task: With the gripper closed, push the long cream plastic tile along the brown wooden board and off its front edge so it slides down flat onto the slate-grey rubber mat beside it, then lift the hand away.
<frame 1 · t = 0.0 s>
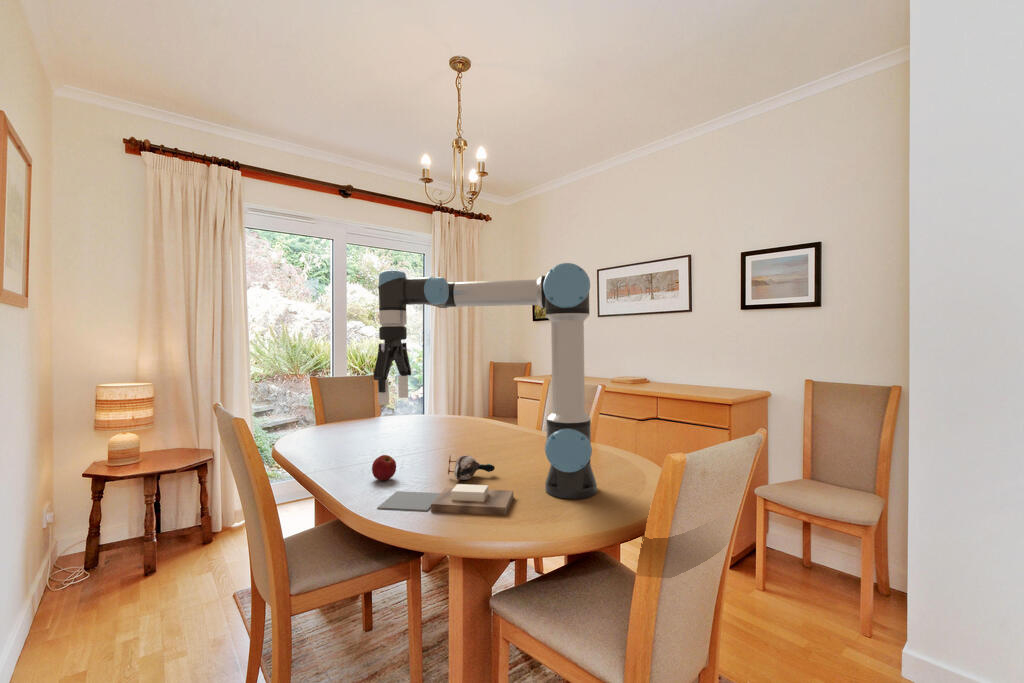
hand: (394, 400, 130), 28 cm above the table, fingers open, 13 cm apart
brown wooden board: (473, 504, 125), on the table
decorative duck model: (470, 481, 146), on the table
tile: (470, 496, 125), point 2 cm above the table, touching brown wooden board
apple: (384, 480, 148), on the table
mat: (411, 501, 128), on the table
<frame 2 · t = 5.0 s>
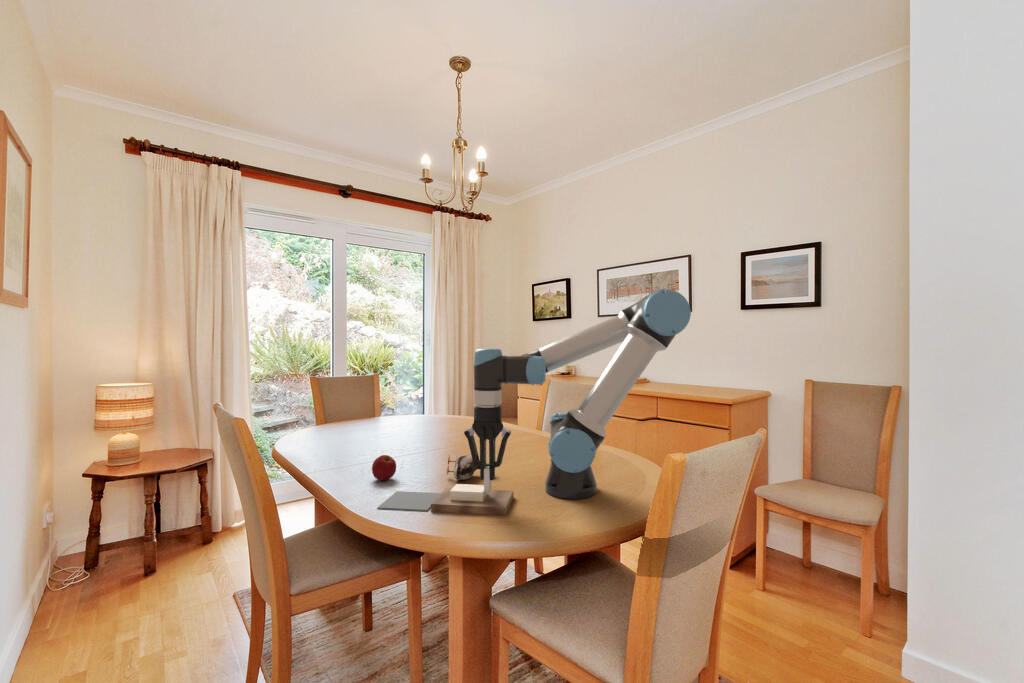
hand: (487, 491, 125), 4 cm above the table, fingers closed
tile: (469, 496, 125), point 2 cm above the table, touching gripper
everything else where it was.
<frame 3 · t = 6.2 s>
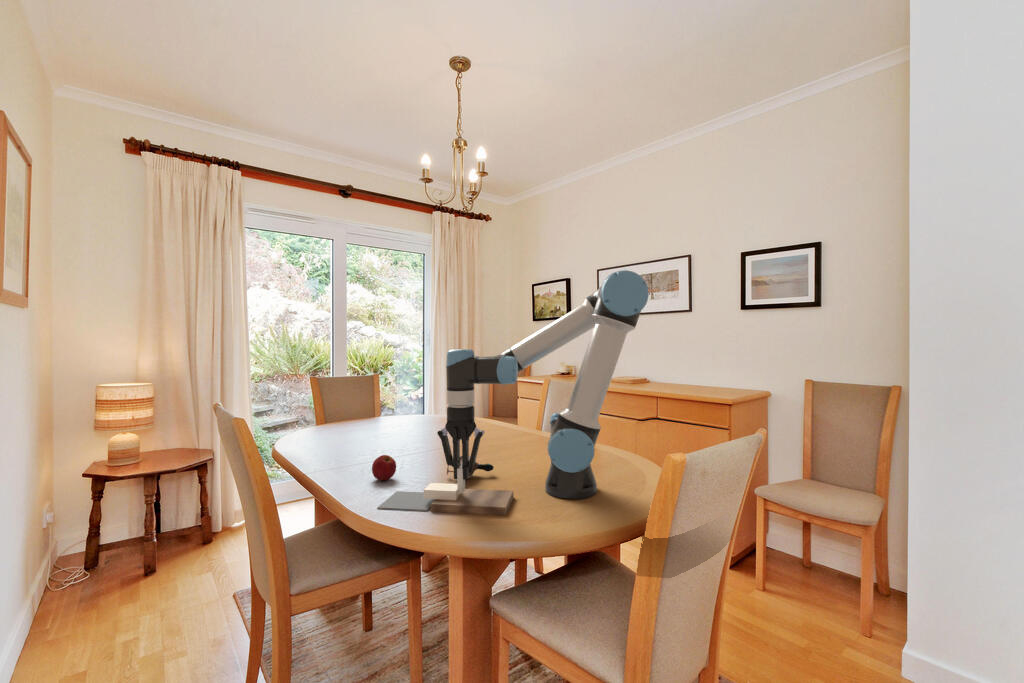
hand: (461, 490, 126), 4 cm above the table, fingers closed
tile: (443, 495, 127), point 2 cm above the table, touching gripper
everything else where it was.
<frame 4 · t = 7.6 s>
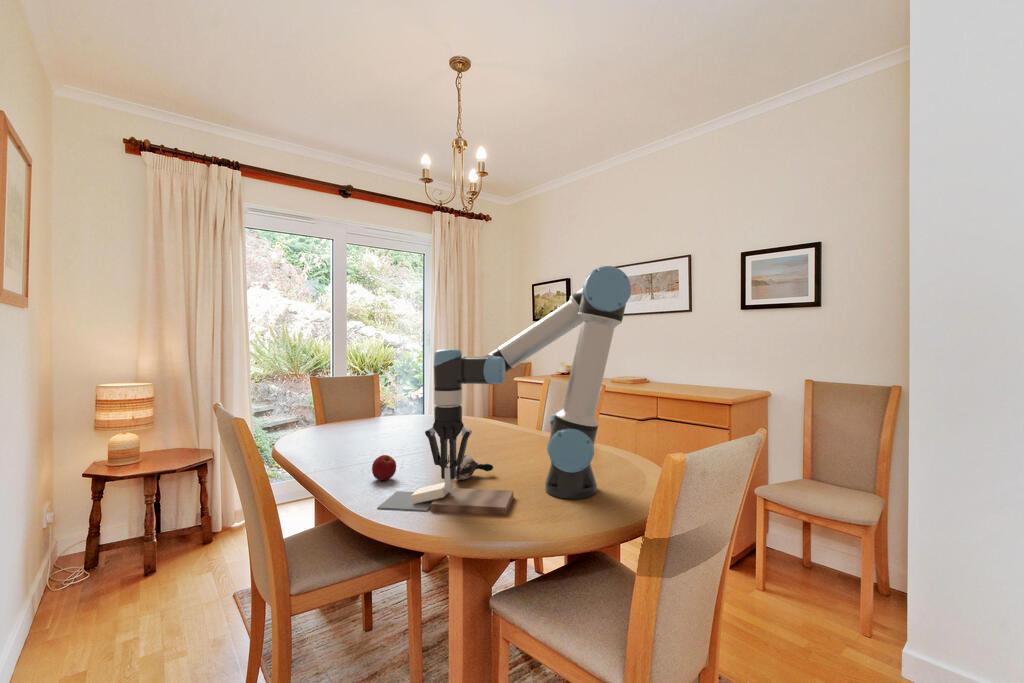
hand: (448, 490, 126), 4 cm above the table, fingers closed
tile: (432, 496, 127), point 2 cm above the table, tilted 14°, touching gripper, mat
everything else where it was.
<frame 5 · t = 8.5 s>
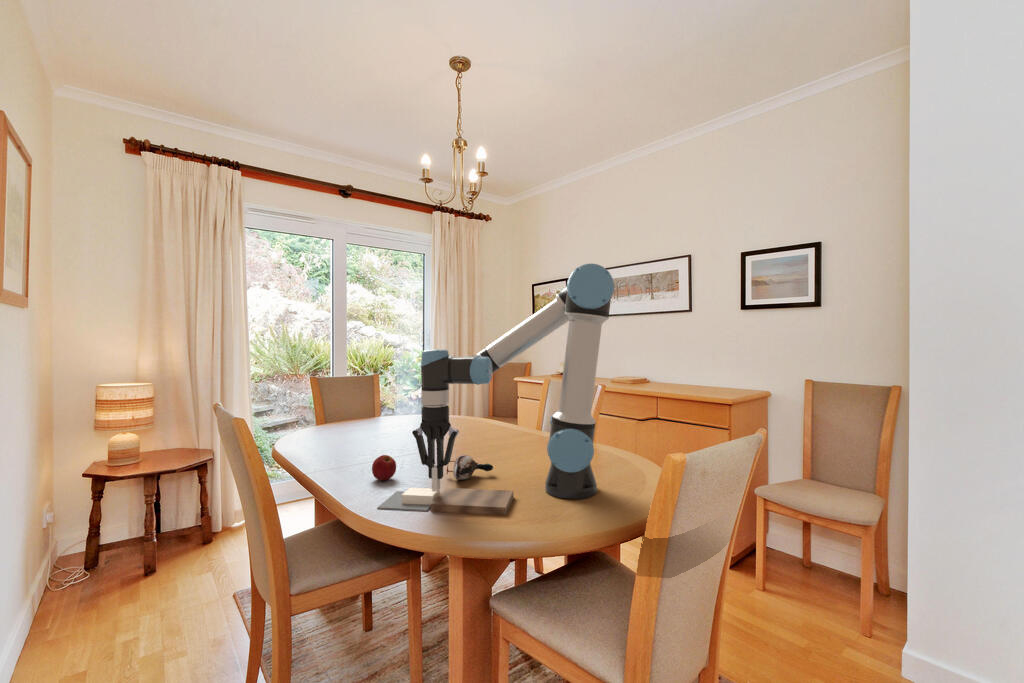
hand: (436, 489, 127), 4 cm above the table, fingers closed
tile: (421, 500, 128), resting on mat
everything else where it was.
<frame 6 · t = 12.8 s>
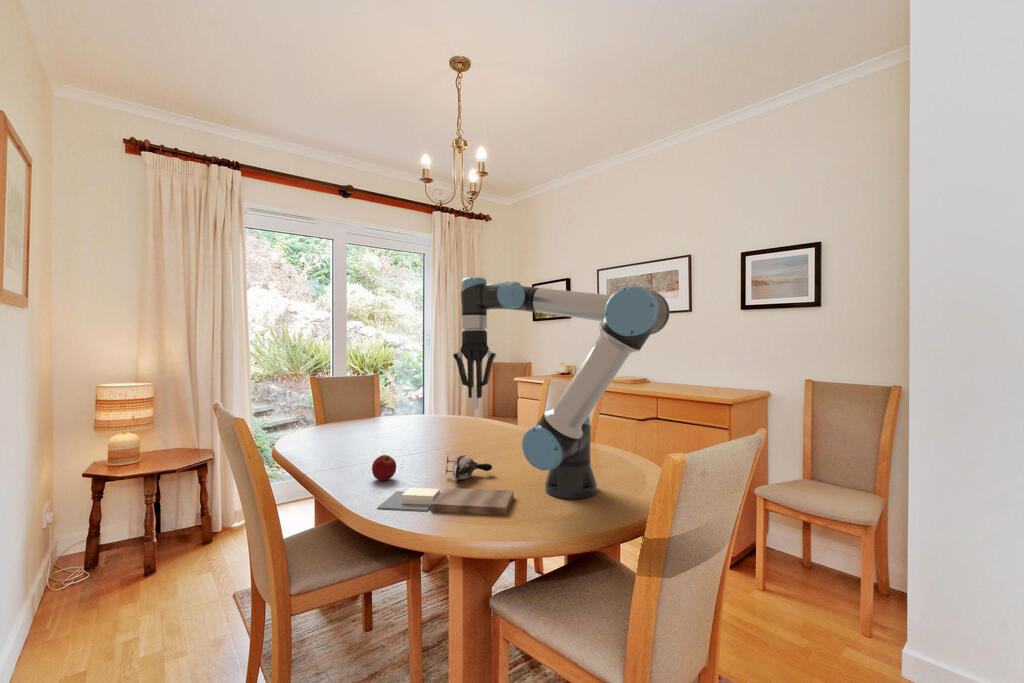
hand: (475, 408, 137), 24 cm above the table, fingers closed
nothing on the table moved.
at the end: tile inside the target area (3.2 cm from its centre), resting on mat; tile resting on mat; tile tilted 0° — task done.
